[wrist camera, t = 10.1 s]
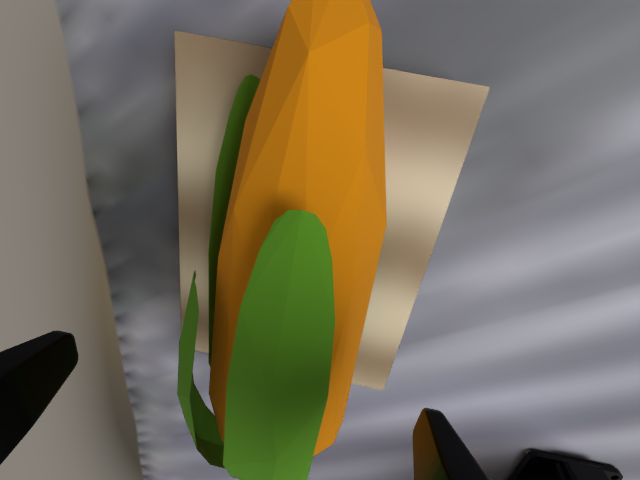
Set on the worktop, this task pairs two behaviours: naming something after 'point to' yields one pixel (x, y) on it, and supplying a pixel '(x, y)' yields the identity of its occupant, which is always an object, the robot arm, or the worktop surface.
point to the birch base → (400, 172)
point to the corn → (291, 246)
